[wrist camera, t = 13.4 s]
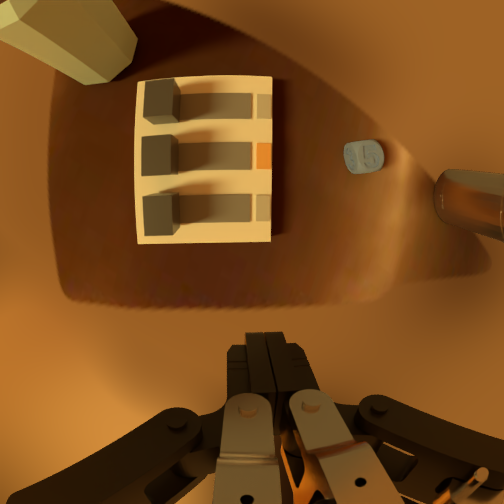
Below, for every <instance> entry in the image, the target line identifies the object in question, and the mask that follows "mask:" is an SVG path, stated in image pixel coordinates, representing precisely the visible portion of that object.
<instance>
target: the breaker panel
mask: <svg viewBox="0 0 504 504" xmlns="http://www.w3.org/2000/svg"><path fill="white" fill-rule="evenodd" d="M167 79H170V78H167ZM174 79H175V81H176V83H177V85H178V86H179V88H180V90H181V95H180V119H179V123H170V124H157V125H153V124H152V123H150V122H149V121H147V120H146V119H144V118H143V104H144V90H145V81H141V82H138V87H137V100H136V116H135V145H134V179H135V208H136V225H137V238H138V244H161V243H213V242H271V196H272V77H265V76H234V75H223V76H192V77H178V78H174ZM157 80H160V79H157ZM149 81H152V80H149ZM165 134H171V135H173V136H174V137H175V138H177V139H178V175H162V176H141V137H142V136H153V135H165ZM174 192H179V211H180V228H179V229H178V230H177V231H176V233H175V234H174V235H171V236H144V221H143V200H142V196H146V195H150V194H153V193H174Z"/></svg>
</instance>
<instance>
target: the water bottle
mask: <svg viewBox="0 0 504 504" xmlns="http://www.w3.org/2000/svg"><path fill="white" fill-rule="evenodd" d="M0 40H2V41H4V42H6V43H7V44H10V45H12V46H14V47H16V48H18V49H20V50H22V51H24V52H25V53H27V54H29V55H31V56H33V57H35V58H37V59H39V60H41V61H43V62H45V63H47V64H48V65H50V66H52V67H54V68H56V69H57V70H59V71H61V72H63V73H65V74H66V75H68V76H70V77H72V78H73V79H75V80H77V81H79V82H80V83H82V84H84V85H89V84H97V83H106V82H110V81H111V80H112V79H113V78H114V77H115V76H116V75H118V74H119V73H120V72H121V71H122V70H123V69H125V68H126V67H127V66H128V65H129V64H131V63H132V59H133V55H134V51H135V48H136V44H137V40H138V38H137V37H136V35H135V34H134V32H133V31H132V29H131V28H130V26H129V25H128V23H127V22H126V20H125V19H124V17H123V16H122V14H121V13H120V11H119V10H118V8H117V7H116V6H115V4H114V3H113V1H112V0H0Z"/></svg>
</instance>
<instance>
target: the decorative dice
mask: <svg viewBox="0 0 504 504" xmlns="http://www.w3.org/2000/svg"><path fill="white" fill-rule="evenodd" d="M344 159H345V163H346V166H347V168H348V169H349V171H350V172H351V173H353V174H361V173H369V172H375V171H380V170H381V169H382V167H383V165H384V152H383V149H382V147H381V145H380V144H379V143H378V142H377V141H376V140H375V139H372V140H363V141H356V142H351V143H347V144H346V145H345V147H344Z"/></svg>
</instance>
